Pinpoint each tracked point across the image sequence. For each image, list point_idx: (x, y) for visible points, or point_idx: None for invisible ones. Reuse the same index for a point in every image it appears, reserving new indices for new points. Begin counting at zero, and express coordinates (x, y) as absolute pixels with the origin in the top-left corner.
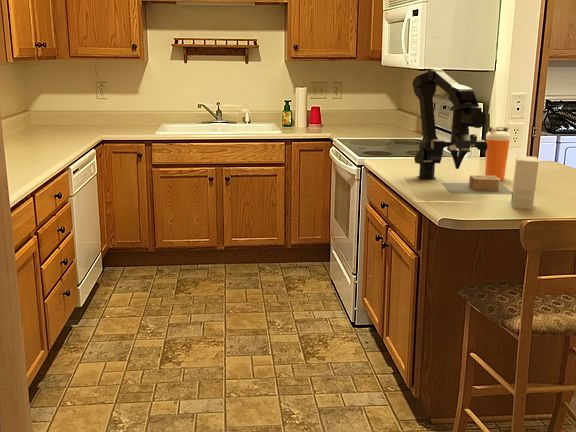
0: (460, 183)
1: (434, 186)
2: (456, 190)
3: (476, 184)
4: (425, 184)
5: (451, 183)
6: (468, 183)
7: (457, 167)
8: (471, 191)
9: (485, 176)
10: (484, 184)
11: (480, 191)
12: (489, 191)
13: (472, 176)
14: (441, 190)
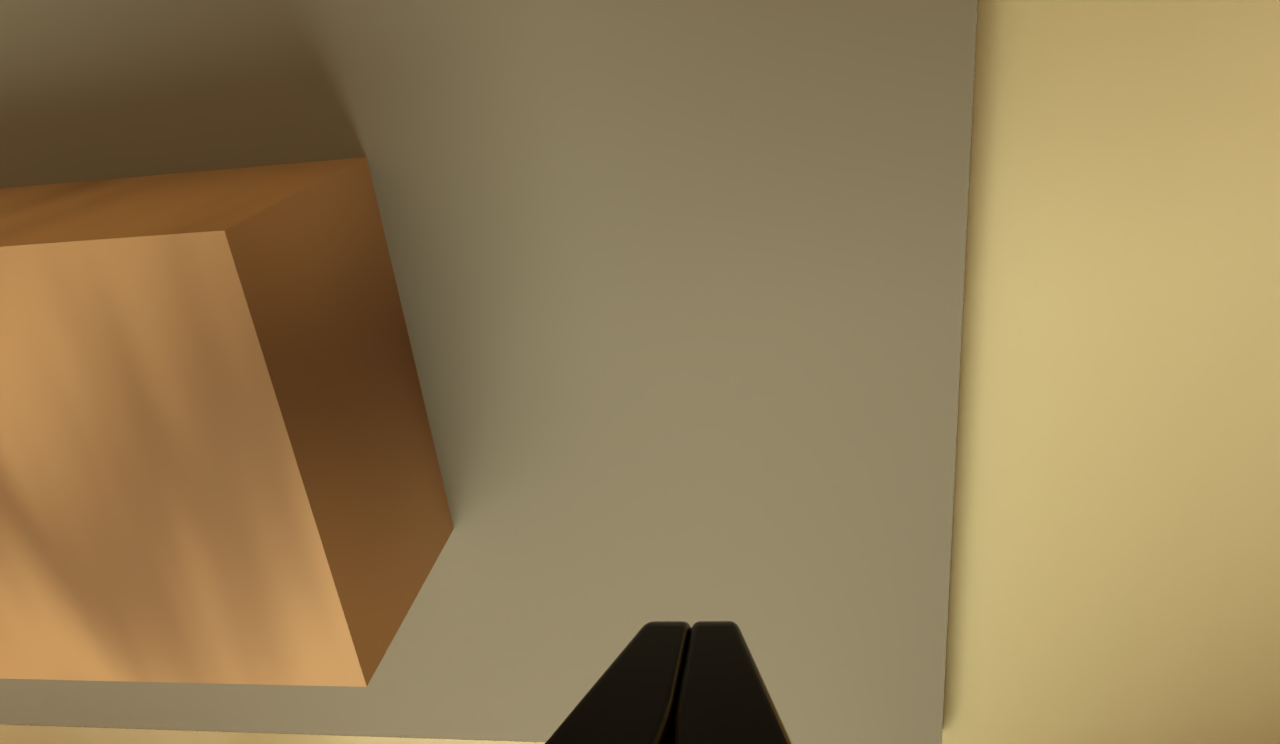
0: None
1: (1132, 549)
2: (751, 61)
3: (239, 192)
4: (1269, 694)
5: None
6: (460, 713)
7: (687, 651)
8: (403, 8)
9: (18, 585)
10: (61, 210)
11: (211, 50)
12: (35, 81)
13: (299, 565)
14: (1089, 177)
